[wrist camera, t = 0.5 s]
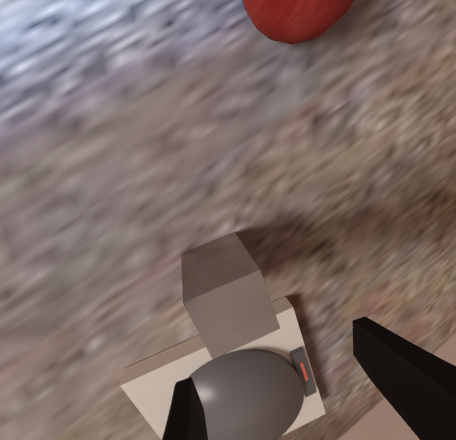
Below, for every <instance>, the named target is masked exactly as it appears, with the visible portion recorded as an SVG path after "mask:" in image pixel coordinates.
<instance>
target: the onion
mask: <svg viewBox="0 0 456 440" xmlns="http://www.w3.org/2000/svg"><path fill="white" fill-rule="evenodd" d="M353 1H354V0H243V4H244V8H245V10H246V12H247V14H248V15H249V17H250V19H251V20H252V22H253V24H254V25H255V27H256V28H257V29H258V30H259V31H260V32H262V33H263V34H264V35H265V36H267V37H268V38H269V39H271V40H274V41H279V42H284V43H289V44H296V43H300V42H303V41H307V40H310V39H313V38H315V37H318V36H320V35H322V34H323V33H324V32H325V31H326V30H327V29H328V28H329V27H331V26H332V25H333V24H334V23H335V22H336V21H337V20H338V19H339V18H341V17H342V16H343V15H344V14H345V13H346V12H347V10H348V9H349V7H350V6H351V4H352V2H353Z"/></svg>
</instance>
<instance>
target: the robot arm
mask: <svg viewBox="0 0 456 440" xmlns="http://www.w3.org/2000/svg"><path fill="white" fill-rule="evenodd" d="M353 354H354V356H355V357H356V359H357V360H358V362H359V364H360V365H361V367H362V368H363V369H364V371H365V372H366V374H367V375H368V377H369V378H370V380H371V381H372V382H373V383H374V384H375V386H376V387H377V388H378V389H379V391H380V392H381V393H382V394H383V395H384V397H385V398H386V399H387V400H388V402H389V403H390V404H391V405H392V406H393V408H394V409H395V410H396V411H397V412H398V414H399V415H400V416H401V417H402V418H403V419H404V421H405V422H406V423H407V424H408V426H409V427H410V428H411V429H412V430H413V432H414V433H415V434H416V435H417V436H418V438H419V439H420V440H456V366H454V365H452V364H450V363H448V362H446V361H444V360H442V359H440V358H438V357H437V356H435V355H433V354H431V353H429V352H427V351H425V350H423V349H422V348H420V347H418V346H416V345H414V344H412V343H411V342H409V341H407V340H405V339H404V338H402V337H400V336H398V335H397V334H395V333H393V332H391V331H390V330H388V329H386V328H384V327H383V326H381V325H379V324H377V323H376V322H374V321H372V320H370V319H369V318H367V317H362V318H359V319H356V320H354V321H353ZM162 440H208V434H207V427H206V420H205V413H204V408H203V405H202V403H201V400H200V397H199V395H198V392H197V390H196V387H195V384H194V382H193V379H192V377H190V378H187V379H184V380H181V381H178V382H176V384H175V386H174V391H173V396H172V401H171V406H170V410H169V414H168V418H167V422H166V426H165V430H164V434H163V437H162Z"/></svg>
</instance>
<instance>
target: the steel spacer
mask: <svg viewBox="0 0 456 440" xmlns="http://www.w3.org/2000/svg"><path fill="white" fill-rule="evenodd" d="M181 265H182V287H183V303H184V305H185V307H186V309H187V311H188V313H189V315H190V317H191V319H192V321H193V323H194V325H195V327H196V329H197V330H198V332H199V334H200V336H201V338H202V340H203V342H204V344H205V346H206V348H207V350H208V352H209V354H210V356H211V358H212V360H213V359H215V358H217V357H220V356H222V355H224V354H226V353H228V352H231V351H233V350H235V349H237V348H239V347H241V346H244V345H246V344H248V343H250V342H252V341H254V340H257V339H259V338H261V337H263V336H265V335H268V334H270V333H272V332H274V331H276V330H278V329H281V328H280V326H279V323H278V320H277V317H276V314H275V311H274V308H273V305H272V302H271V299H270V296H269V294H268V291H267V288H266V285H265V282H264V279H263V276H262V273H261V270H260V268H259V267H258V266H257V264H256V263H255V261H254V260H253V258H252V257H251V255H250V254H249V252H248V251H247V249H246V248H245V247H244V245H243V244H242V242H241V241H240V239H239V238H238V236H237V235H236V233H235V232H233V233H230V234H228V235H226V236H223V237H221V238H218V239H216V240H213V241H211V242H209V243H206V244H204V245H201V246H199V247H196V248H194V249H192V250H189V251H187V252H184V253H182V254H181Z"/></svg>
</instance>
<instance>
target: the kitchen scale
mask: <svg viewBox="0 0 456 440" xmlns="http://www.w3.org/2000/svg"><path fill="white" fill-rule="evenodd" d="M272 305H273V308H274V311H275V314H276V317H277V320H278V323H279V326H280V328H281V329H278V330H276V331H274V332H272V333H270V334H268V335H265V336H263V337H261V338H259V339H257V340H254V341H252V342H250V343H248V344H246V345H244V346H241V347H239V348H237V349H235V350H233V351H231V352H228V353H226V354H224V355H222V356H220V357H217V358H215V359H213V360H212V358H211V356H210V354H209V352H208V350H207V348H206V346H205V344H204V342H203V340H202V338H201V336H200V335H198V336H196V337H194V338H192V339H189V340H187V341H185V342H183V343H180V344H178V345H176V346H174V347H171V348H169V349H167V350H165V351H162V352H160V353H158V354H156V355H154V356H151V357H149V358H147V359H145V360H142V361H140V362H138V363H136V364H133V365H131V366H129V367H127V368H124V371H123V376H122V380H121V384H120V386H121V387H122V389H123V390H124V391H125V393H126V394H127V395H128V397H129V398H130V399H131V401H132V402H133V403H134V404H135V406H136V407H137V408H138V410H139V411H140V412H141V414H142V415H143V416H144V418H145V419H146V420H147V422H148V423H149V424H150V425H151V427H152V428H153V429H154V431H155V432H156V433H157V435H158V436H159V437H160V439H161V440H162V437H163V434H164V430H165V426H166V422H167V418H168V414H169V410H170V406H171V401H172V396H173V391H174V386H175V384H176V382H178V381H181V380H184V379H187V378H190V377H192V379H193V382H194V384H195V387H196V390H197V392H198V395H199V397H200V400H201V403H202V405H203V408H204V413H205V420H206V427H207V434H208V440H277V439H278V438H280V437H281V436H283V435H285V434H287V433H289V432H291V431H293V430H295V429H296V428H298V427H300V426H302V425H304V424H306V423H308V422H310V421H312V420H314V419H316V418H318V417H320V416H322V415H324V414H326V413H325V410H324V407H323V404H322V400H321V397H320V394H319V390H318V387H317V384H316V381H315V377H314V374H313V371H312V367H311V364H310V361H309V358H308V354H307V351H306V348H305V344H304V341H303V338H302V335H301V331H300V328H299V325H298V321H297V318H296V315H295V312H294V308H293V306H292V305H291V304H290V302H289V301H288V299H287V298H286V297H283V298H281V299H279V300H276V301H274V302H272Z"/></svg>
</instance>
